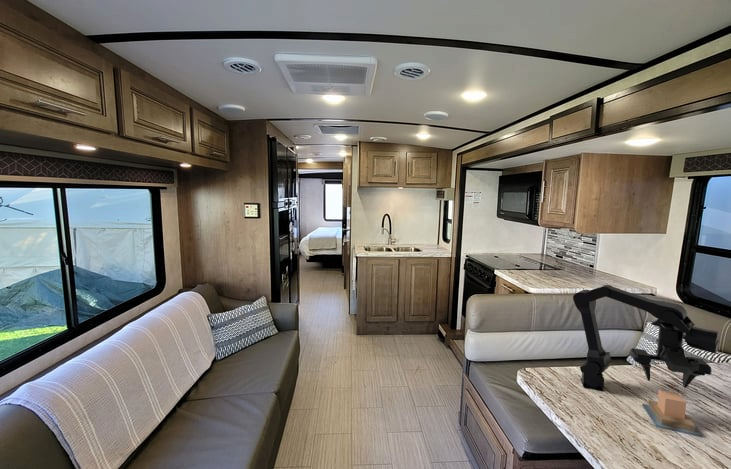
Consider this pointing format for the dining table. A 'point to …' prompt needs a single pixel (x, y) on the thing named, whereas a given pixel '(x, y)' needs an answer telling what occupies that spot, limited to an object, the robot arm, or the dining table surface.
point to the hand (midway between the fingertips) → (666, 383)
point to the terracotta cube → (671, 404)
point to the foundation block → (670, 420)
